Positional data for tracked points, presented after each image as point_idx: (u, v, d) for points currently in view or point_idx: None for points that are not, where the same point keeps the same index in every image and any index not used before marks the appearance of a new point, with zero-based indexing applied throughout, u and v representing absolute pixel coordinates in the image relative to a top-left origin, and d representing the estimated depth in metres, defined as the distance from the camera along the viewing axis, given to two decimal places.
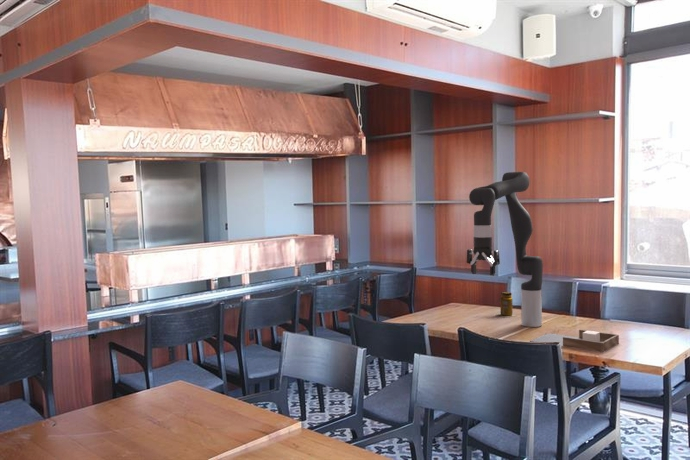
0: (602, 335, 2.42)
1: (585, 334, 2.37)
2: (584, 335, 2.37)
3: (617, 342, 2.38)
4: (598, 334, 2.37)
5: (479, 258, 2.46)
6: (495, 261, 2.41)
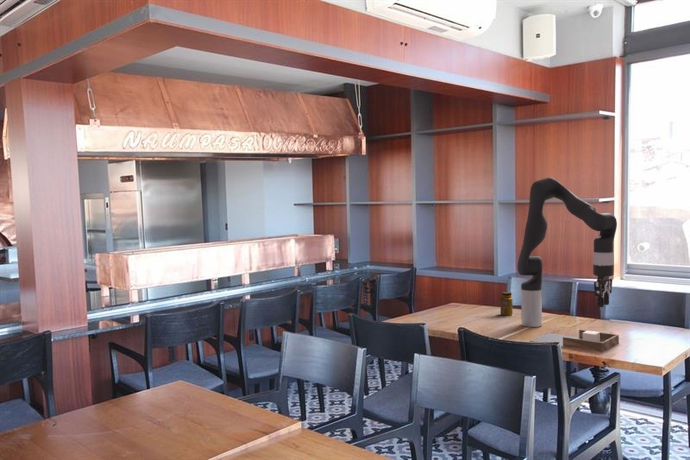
0: (602, 335, 2.42)
1: (585, 334, 2.37)
2: (584, 335, 2.37)
3: (617, 342, 2.38)
4: (598, 334, 2.37)
5: (605, 287, 2.32)
6: (611, 289, 2.37)
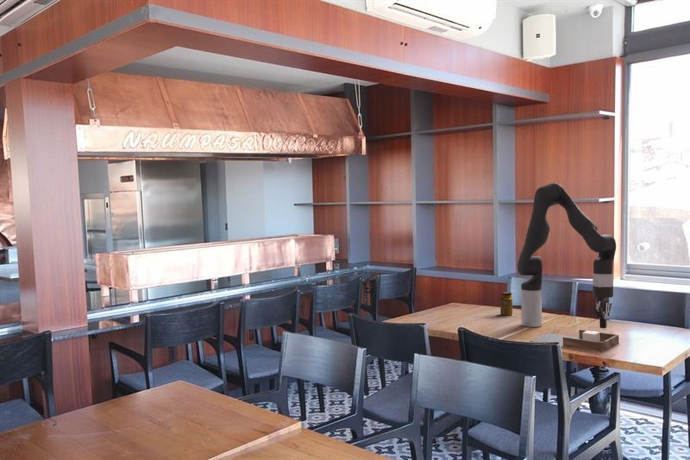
0: (602, 335, 2.42)
1: (585, 334, 2.37)
2: (584, 335, 2.37)
3: (617, 342, 2.38)
4: (598, 334, 2.37)
5: None
6: (609, 312, 2.35)
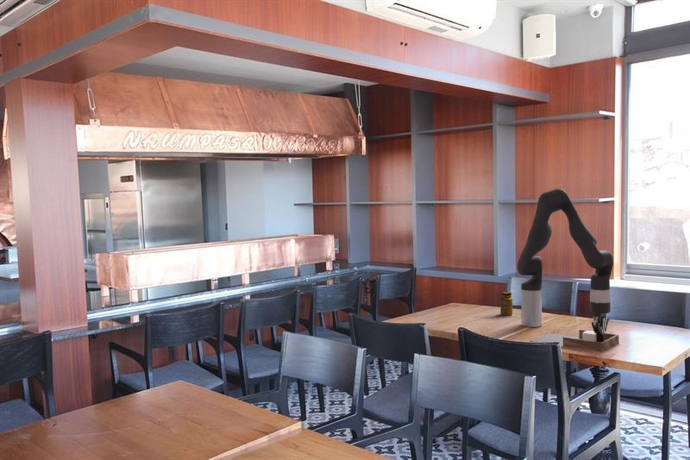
0: None
1: (585, 334, 2.37)
2: (584, 335, 2.37)
3: (617, 342, 2.38)
4: None
5: None
6: (606, 328, 2.37)
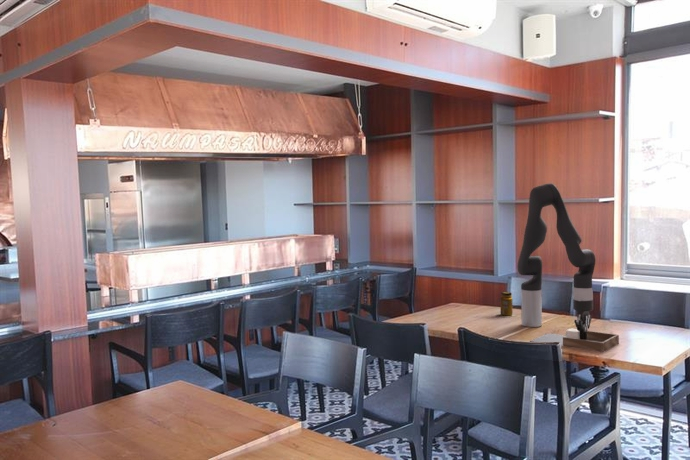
0: (602, 335, 2.42)
1: (568, 332, 2.41)
2: (567, 333, 2.42)
3: (617, 342, 2.38)
4: None
5: None
6: (589, 325, 2.41)
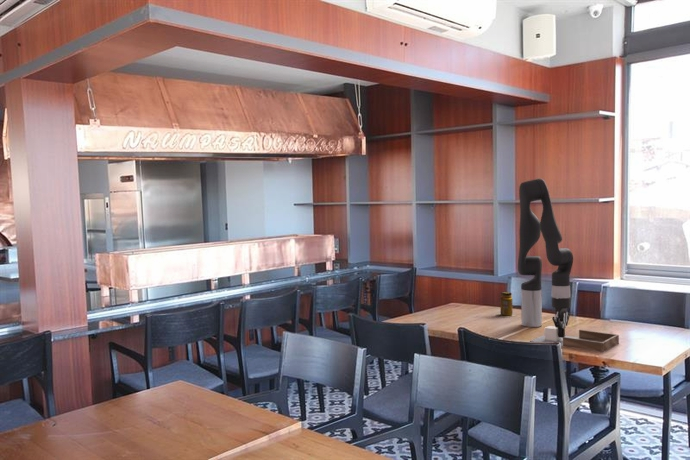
0: (602, 335, 2.42)
1: (547, 329, 2.47)
2: (546, 330, 2.47)
3: (617, 342, 2.38)
4: None
5: None
6: (567, 322, 2.47)
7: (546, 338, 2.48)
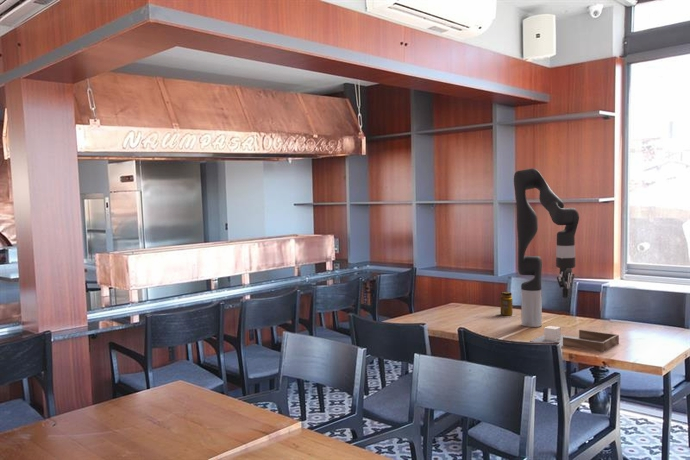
0: (602, 335, 2.42)
1: (546, 329, 2.47)
2: (546, 330, 2.47)
3: (617, 342, 2.38)
4: (559, 329, 2.47)
5: (568, 276, 2.44)
6: (571, 283, 2.46)
7: (546, 338, 2.48)
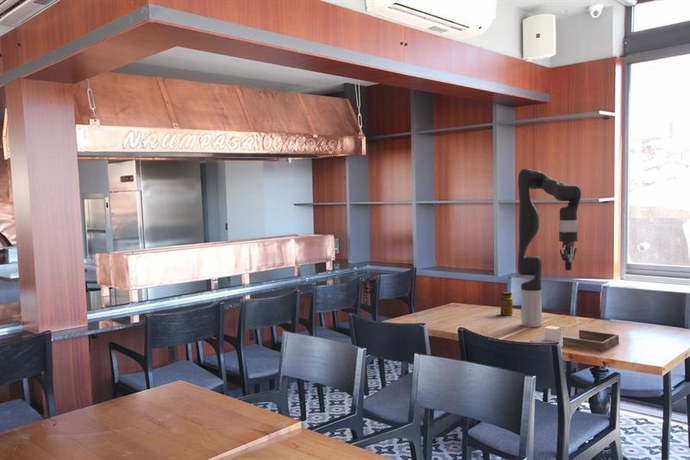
0: (602, 335, 2.42)
1: (546, 329, 2.47)
2: (546, 330, 2.47)
3: (617, 342, 2.38)
4: (559, 329, 2.47)
5: None
6: (573, 256, 2.58)
7: (546, 338, 2.48)
